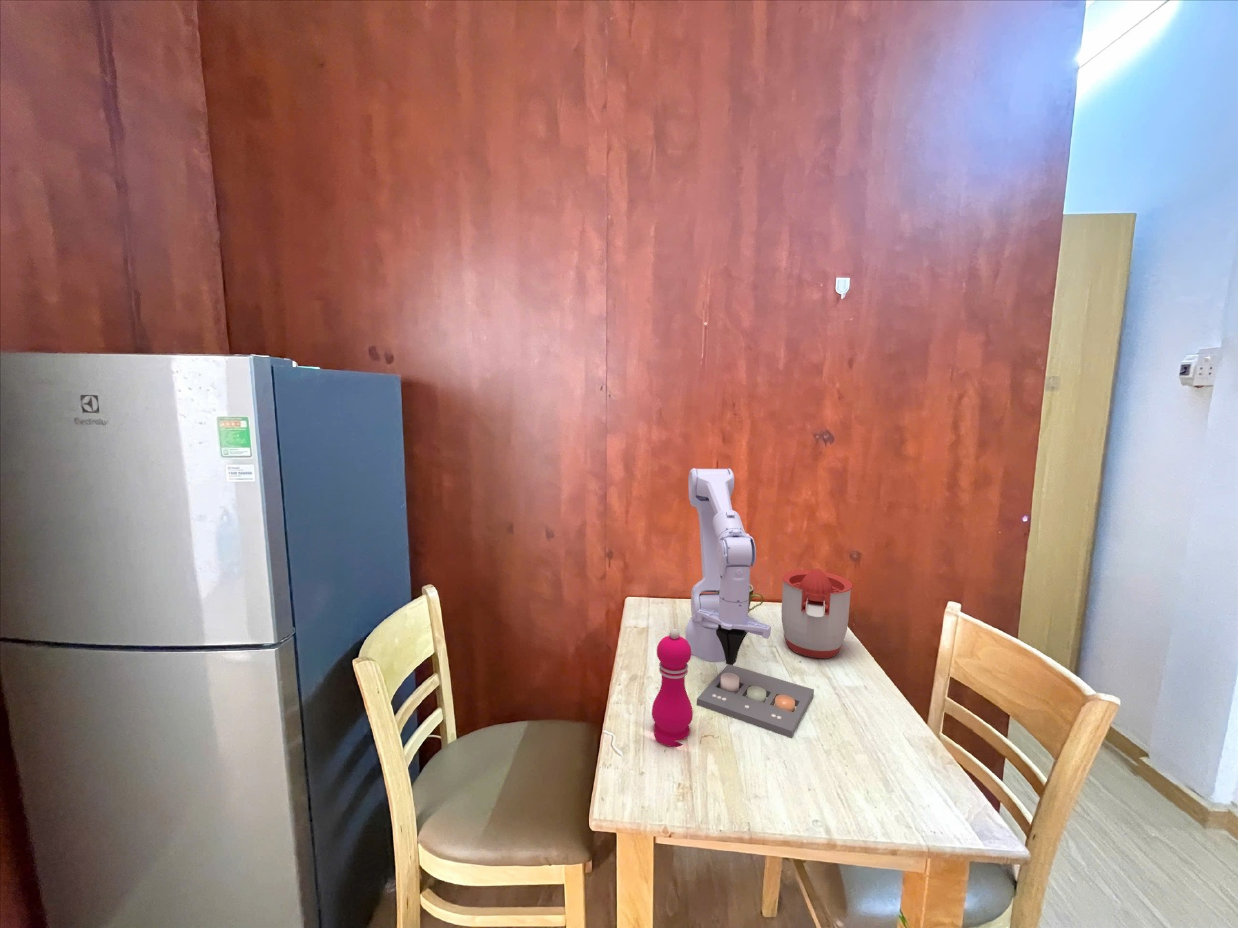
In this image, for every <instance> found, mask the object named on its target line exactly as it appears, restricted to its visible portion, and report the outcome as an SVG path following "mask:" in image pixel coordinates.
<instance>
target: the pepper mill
mask: <svg viewBox="0 0 1238 928" xmlns="http://www.w3.org/2000/svg"><path fill="white" fill-rule="evenodd" d="M656 656H657V659H658V661H659V665H658V666H659V668H658V672H659V673H660V674H661V685H660V688H659V690H658V692H657V695H656V697H655V699H654V700H653V703H652V707H651V717H652V719H653V722H654V726H653V731H654V733H653V737H654V738H655V740H656V741H657V742H658V743H659V744H660V745H664V746H666V747H672V748H673V747H681V746H683V745H684V743H681V742H680V741H682V740H684V739H686V738H687V737H688V736H689V735H690V724H691V722H692V721H693V717H694V713H693V712H694V711H693V706H692V703H691V700H690V697H689V695H688V693H687V690H686V685H685V682H686V681H685V679H686V676H687V675H688V673H689V671H688V669H689V664H688V663H689V662H690V661H691V658H692V655H691V647H690V645H689V643H688V641H687V640H686V639H685V637H682V636H681V635H680V630H678V629H677V628H672V629H670V631H669V635H667V636H664V637H663V638H662V639H660V641H659V642H658V645H657V647H656ZM678 741H679V742H678Z"/></svg>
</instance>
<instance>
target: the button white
mask: <svg viewBox="0 0 1238 928" xmlns="http://www.w3.org/2000/svg"><path fill="white" fill-rule="evenodd" d="M720 689H723V690H726V691H729V692H732V693H735V694H737V692H738V691H739V690H740V689H739V677H738V676H737V675H736V674H733V673H723V674H722V675H721V687H720Z"/></svg>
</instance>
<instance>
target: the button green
mask: <svg viewBox="0 0 1238 928" xmlns="http://www.w3.org/2000/svg"><path fill="white" fill-rule="evenodd" d="M746 697H748V698H751V699H754V700H757V701H760V702H763V703H764V702H765V701H766V699H767V697H766V691H765V689H763V688H761V687H758V686H751V687H749V688H748V689H747V695H746Z"/></svg>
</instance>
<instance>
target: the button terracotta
mask: <svg viewBox="0 0 1238 928" xmlns="http://www.w3.org/2000/svg"><path fill="white" fill-rule="evenodd" d="M774 706H775V707H778V708H782V709H785V710H788V711H791V712H794V711H795V709H796V706H795V700H794V699H793V698H792V697H790V696H787V695H778V696H776V697H775V703H774Z"/></svg>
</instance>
